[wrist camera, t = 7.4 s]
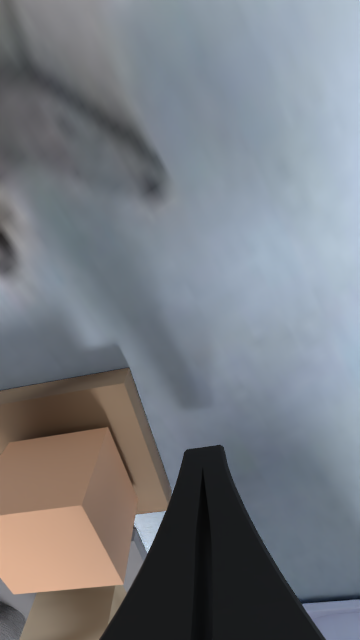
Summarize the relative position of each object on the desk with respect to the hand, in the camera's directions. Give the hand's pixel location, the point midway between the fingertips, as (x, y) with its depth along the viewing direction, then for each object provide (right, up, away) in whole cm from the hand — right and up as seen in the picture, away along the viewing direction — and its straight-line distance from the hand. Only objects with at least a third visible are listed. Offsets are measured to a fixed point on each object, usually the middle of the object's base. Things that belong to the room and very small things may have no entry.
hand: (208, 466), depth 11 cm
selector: (-5, -1, +1) cm, 5 cm away
